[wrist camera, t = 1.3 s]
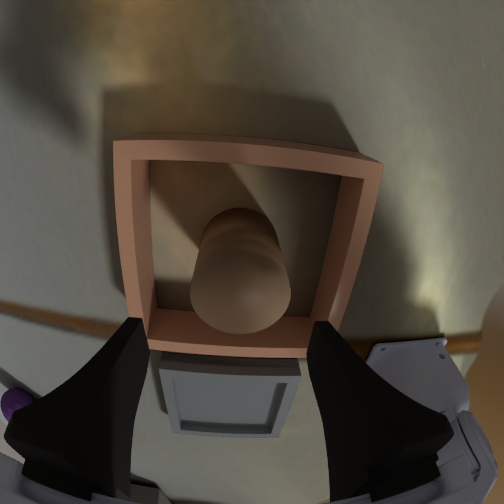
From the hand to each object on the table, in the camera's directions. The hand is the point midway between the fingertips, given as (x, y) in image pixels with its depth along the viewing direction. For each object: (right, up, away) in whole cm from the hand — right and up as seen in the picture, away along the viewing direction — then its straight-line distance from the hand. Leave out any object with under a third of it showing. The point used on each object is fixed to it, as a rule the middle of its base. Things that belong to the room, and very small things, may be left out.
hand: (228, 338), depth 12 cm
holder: (0, +4, +8) cm, 9 cm away
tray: (-2, -11, +16) cm, 19 cm away
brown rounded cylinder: (0, +4, +8) cm, 9 cm away
